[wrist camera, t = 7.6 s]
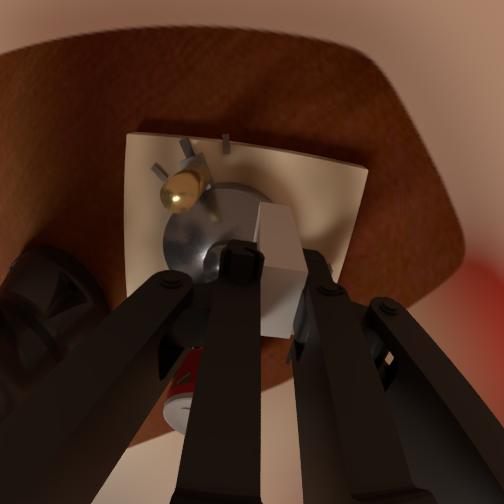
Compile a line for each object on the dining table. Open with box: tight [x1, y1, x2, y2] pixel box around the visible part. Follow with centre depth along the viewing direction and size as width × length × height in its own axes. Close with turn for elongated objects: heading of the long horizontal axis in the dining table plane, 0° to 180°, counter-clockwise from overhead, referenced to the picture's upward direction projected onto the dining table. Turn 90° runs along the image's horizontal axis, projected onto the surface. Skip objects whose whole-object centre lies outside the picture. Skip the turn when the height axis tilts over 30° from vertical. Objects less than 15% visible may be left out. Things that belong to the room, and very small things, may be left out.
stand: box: [124, 132, 368, 335], centre depth 28 cm, size 20×18×4 cm
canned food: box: [163, 346, 203, 435], centre depth 30 cm, size 8×8×11 cm
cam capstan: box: [160, 152, 333, 284], centre depth 23 cm, size 13×16×7 cm
